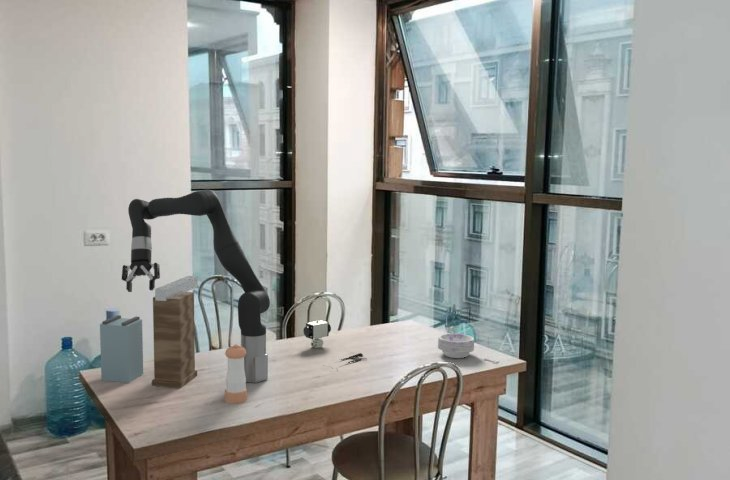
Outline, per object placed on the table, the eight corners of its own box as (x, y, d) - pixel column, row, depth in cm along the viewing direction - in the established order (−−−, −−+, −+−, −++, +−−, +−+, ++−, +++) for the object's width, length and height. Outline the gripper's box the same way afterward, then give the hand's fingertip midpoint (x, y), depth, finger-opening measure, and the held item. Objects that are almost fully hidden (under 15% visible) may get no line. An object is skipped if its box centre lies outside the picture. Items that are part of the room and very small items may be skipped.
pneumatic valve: (331, 346, 291) (331, 319, 290) (309, 350, 284) (309, 323, 282) (323, 343, 295) (323, 316, 294) (301, 347, 288) (302, 320, 286)
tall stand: (180, 388, 235) (179, 299, 231) (151, 385, 237) (150, 298, 233) (197, 375, 249) (196, 291, 245) (169, 373, 251) (168, 290, 247)
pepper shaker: (250, 397, 228) (250, 342, 226) (241, 404, 221) (241, 348, 219) (230, 394, 230) (230, 341, 227) (221, 402, 223) (221, 346, 220)
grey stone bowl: (462, 349, 291) (463, 331, 290) (480, 359, 277) (481, 340, 276) (431, 351, 286) (432, 333, 285) (447, 362, 272) (448, 343, 271)
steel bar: (166, 301, 229) (165, 289, 228) (155, 300, 230) (155, 289, 229) (197, 286, 254) (197, 276, 254) (187, 286, 255) (187, 275, 254)
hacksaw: (360, 355, 280) (360, 352, 279) (377, 361, 272) (377, 357, 272) (315, 367, 263) (316, 363, 263) (332, 373, 256) (332, 369, 256)
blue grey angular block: (129, 382, 240) (128, 323, 237) (101, 380, 241) (99, 321, 239) (143, 374, 249) (142, 316, 247) (116, 371, 251) (114, 315, 248)
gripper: (119, 249, 255) (118, 290, 251) (155, 246, 254) (154, 288, 250) (128, 253, 262) (126, 293, 259) (162, 250, 261) (162, 291, 257)
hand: (140, 290), depth 254 cm, fingers open, 8 cm apart
